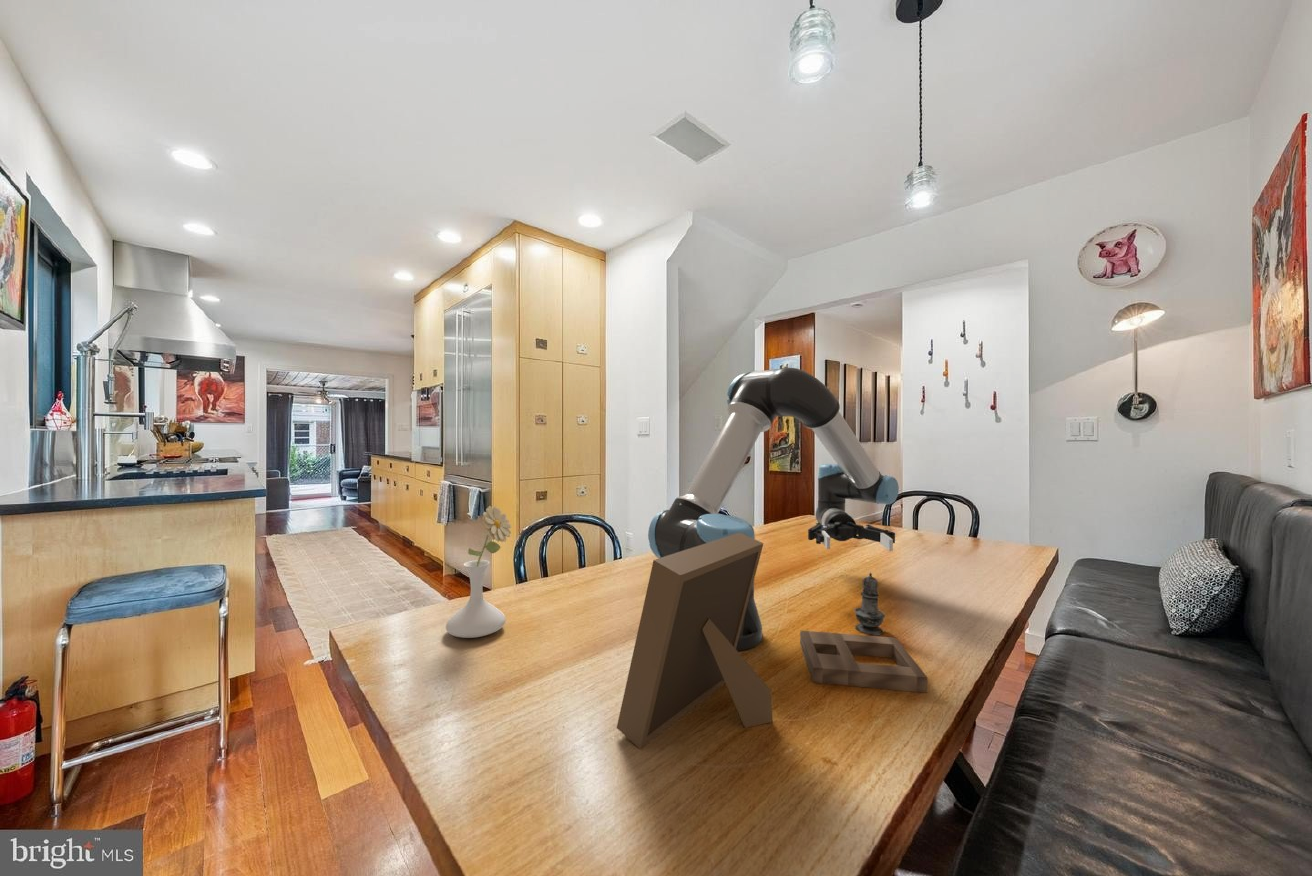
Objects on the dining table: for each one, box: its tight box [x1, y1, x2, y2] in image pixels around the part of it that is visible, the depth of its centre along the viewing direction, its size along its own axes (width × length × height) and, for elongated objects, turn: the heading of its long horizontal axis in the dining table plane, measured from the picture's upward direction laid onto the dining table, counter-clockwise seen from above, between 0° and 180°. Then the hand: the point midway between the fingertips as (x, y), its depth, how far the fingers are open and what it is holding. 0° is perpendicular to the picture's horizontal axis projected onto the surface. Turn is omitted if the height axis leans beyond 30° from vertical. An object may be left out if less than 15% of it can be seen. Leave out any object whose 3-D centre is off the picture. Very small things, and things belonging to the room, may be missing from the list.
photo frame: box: [616, 533, 774, 750], centre depth 68 cm, size 15×22×25 cm
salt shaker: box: [853, 572, 886, 636], centre depth 100 cm, size 6×6×12 cm
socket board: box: [799, 630, 928, 694], centre depth 85 cm, size 18×14×2 cm
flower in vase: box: [445, 505, 512, 639], centre depth 97 cm, size 13×11×25 cm
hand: (859, 544), depth 109 cm, fingers open, 13 cm apart
